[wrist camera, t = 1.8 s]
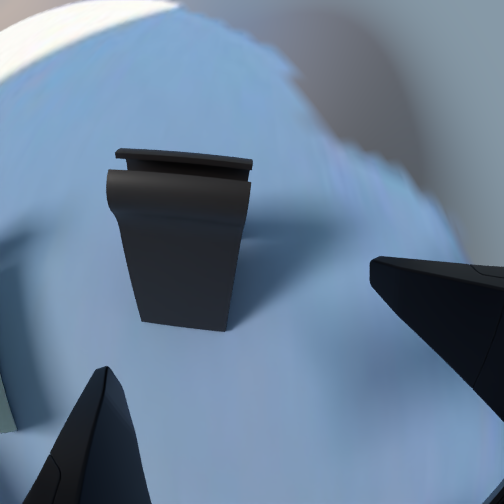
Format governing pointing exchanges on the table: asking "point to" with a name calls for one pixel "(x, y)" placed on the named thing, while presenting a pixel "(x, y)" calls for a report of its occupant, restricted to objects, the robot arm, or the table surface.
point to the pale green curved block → (5, 413)
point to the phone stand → (181, 232)
